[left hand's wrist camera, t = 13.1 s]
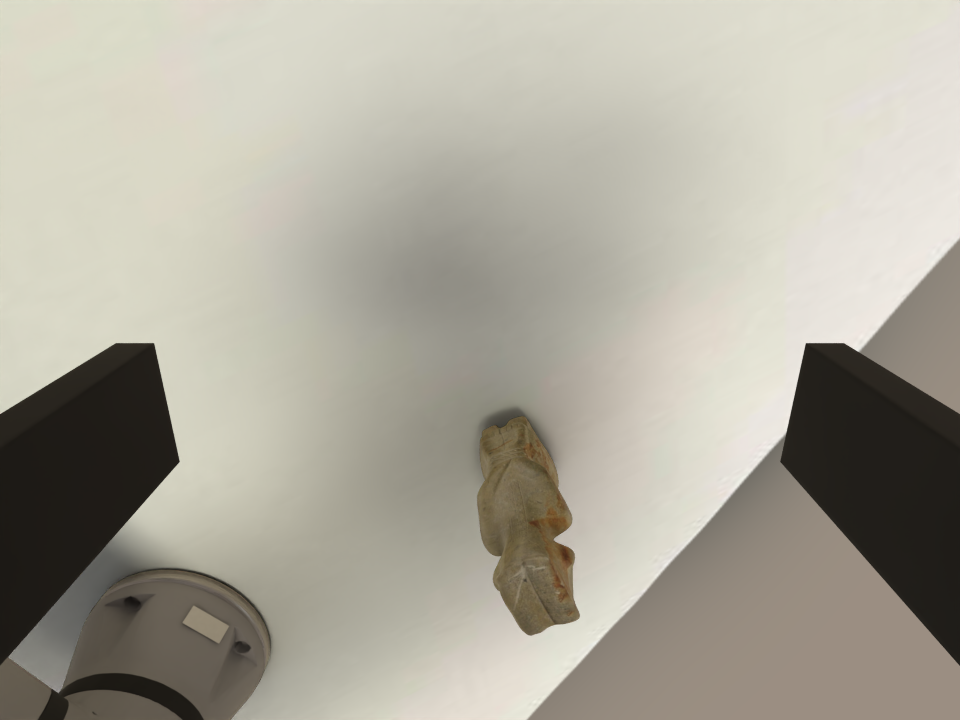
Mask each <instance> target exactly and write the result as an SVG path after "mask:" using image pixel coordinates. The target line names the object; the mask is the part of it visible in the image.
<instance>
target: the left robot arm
mask: <svg viewBox="0 0 960 720" xmlns="http://www.w3.org/2000/svg"><path fill="white" fill-rule="evenodd" d="M179 462H180V461H179V456H178V452H177V447H176V443H175V438H174V433H173V429H172V424H171V419H170V415H169V410H168V406H167V401H166V396H165V392H164V387H163V382H162V378H161V373H160V369H159V364H158V359H157V355H156V350H155V345H154V343H116V344H114V345H112V346H111V347H109V348H108V349H106V350H104V351H103V352H101V353H99V354H98V355H96V356H94V357H93V358H91V359H90V360H88V361H86V362H85V363H83V364H81V365H80V366H78V367H76V368H75V369H73V370H72V371H70V372H68V373H67V374H65V375H63V376H62V377H60V378H59V379H57V380H55V381H54V382H52V383H50V384H49V385H47V386H45V387H44V388H42V389H41V390H39V391H37V392H36V393H34V394H32V395H31V396H29V397H28V398H26V399H24V400H23V401H21V402H19V403H18V404H16V405H14V406H13V407H11V408H10V409H8V410H6V411H5V412H3V413H1V414H0V720H231V719H232V717H233V716H234V715H235V714H236V713H237V711H238V710H239V709H240V708H241V707H242V705H243V704H244V703H245V702H246V701H247V700H248V698H249V697H250V696H251V695H252V693H253V692H254V690H255V688H256V687H257V685H258V683H259V682H260V680H261V678H262V675H263V673H264V670H265V667H266V665H267V662H268V659H269V654H270V640H269V635H268V632H267V629H266V626H265V624H264V622H263V620H262V619H261V617H260V615H259V614H258V613H257V611H256V610H255V609H254V608H253V606H252V605H251V604H250V603H249V602H248V601H247V600H246V599H245V598H243V597H242V596H241V595H240V594H238V593H237V592H236V591H234V590H233V589H231V588H230V587H228V586H226V585H224V584H222V583H220V582H218V581H216V580H214V579H211V578H208V577H206V576H203V575H199V574H196V573H191V572H186V571H179V570H153V571H146V572H141V573H138V574H134V575H132V576H129V577H127V578H125V579H123V580H121V581H119V582H117V583H116V584H114V585H113V586H112V587H111V588H109V589H108V590H107V592H106V593H105V594H104V595H103V596H102V597H101V599H100V600H99V601H98V602H97V604H96V605H95V606H94V608H93V609H92V610H91V612H90V614H89V616H88V618H87V619H86V621H85V623H84V625H83V628H82V631H81V634H80V637H79V640H78V643H77V646H76V649H75V652H74V655H73V658H72V661H71V664H70V667H69V670H68V673H67V676H66V679H65V682H64V685H63V687H62V689H61V691H60V692H59V693H57V692H55V691H54V690H52V689H51V688H50V687H48V686H47V685H46V684H44V683H43V682H41V681H40V680H39V679H37V678H36V677H34V676H33V675H32V674H30V673H29V672H27V671H26V670H25V669H23V668H22V667H20V666H19V665H18V664H16V663H15V662H13V661H12V660H11V659H9V658H8V656H9V655H10V654H11V653H12V652H13V651H14V649H15V648H16V647H17V646H18V645H19V644H20V643H21V641H22V640H23V639H24V638H25V637H26V636H27V635H28V634H29V632H30V631H31V630H32V629H33V628H34V627H35V626H36V624H37V623H38V622H39V621H40V620H41V619H42V618H43V616H44V615H45V614H46V613H47V612H48V611H49V610H50V609H51V607H52V606H53V605H54V604H55V603H56V602H57V601H58V599H59V598H60V597H61V596H62V595H63V594H64V593H65V591H66V590H67V589H68V588H69V587H70V586H71V585H72V584H73V582H74V581H75V580H76V579H77V578H78V577H79V576H80V574H81V573H82V572H83V571H84V570H85V569H86V568H87V566H88V565H89V564H90V563H91V562H92V561H93V560H94V559H95V557H96V556H97V555H98V554H99V553H100V552H101V551H102V549H103V548H104V547H105V546H106V545H107V544H108V543H109V541H110V540H111V539H112V538H113V537H114V536H115V535H116V534H117V532H118V531H119V530H120V529H121V528H122V527H123V526H124V524H125V523H126V522H127V521H128V520H129V519H130V518H131V516H132V515H133V514H134V513H135V512H136V511H137V510H138V508H139V507H140V506H141V505H142V504H143V503H144V502H145V501H146V499H147V498H148V497H149V496H150V495H151V494H152V493H153V491H154V490H155V489H156V488H157V487H158V486H159V485H160V483H161V482H162V481H163V480H164V479H165V478H166V477H167V476H168V474H169V473H170V472H171V471H172V470H173V469H174V468H175V466H176V465H177V464H178V463H179ZM780 462H781V463H782V464H783V465H784V466H785V468H786V469H787V470H788V471H789V472H790V473H791V474H792V476H793V477H794V478H795V479H796V480H797V481H798V482H799V483H800V485H801V486H802V487H803V488H804V489H805V490H806V491H807V493H808V494H809V495H810V496H811V497H812V498H813V499H814V501H815V502H816V503H817V504H818V505H819V506H820V507H821V508H822V510H823V511H824V512H825V513H826V514H827V515H828V516H829V518H830V519H831V520H832V521H833V522H834V523H835V524H836V526H837V527H838V528H839V529H840V530H841V531H842V532H843V534H844V535H845V536H846V537H847V538H848V539H849V540H850V541H851V543H852V544H853V545H854V546H855V547H856V548H857V549H858V551H859V552H860V553H861V554H862V555H863V556H864V557H865V558H866V560H867V561H868V562H869V563H870V564H871V565H872V566H873V568H874V569H875V570H876V571H877V572H878V573H879V574H880V576H881V577H882V578H883V579H884V580H885V581H886V582H887V583H888V585H889V586H890V587H891V588H892V589H893V590H894V591H895V593H896V594H897V595H898V596H899V597H900V598H901V599H902V601H903V602H904V603H905V604H906V605H907V606H908V607H909V608H910V610H911V611H912V612H913V613H914V614H915V615H916V616H917V618H918V619H919V620H920V621H921V622H922V623H923V624H924V626H925V627H926V628H927V629H928V630H929V631H930V632H931V634H932V635H933V636H934V637H935V638H936V639H937V640H938V641H939V643H940V644H941V645H942V646H943V647H944V648H945V649H946V651H947V652H948V653H949V654H950V655H951V656H952V657H953V658H954V660H955V661H956V662H957V663H958V664H959V665H960V414H959V413H957V412H955V411H954V410H952V409H950V408H949V407H947V406H946V405H944V404H942V403H941V402H939V401H937V400H936V399H934V398H932V397H931V396H929V395H928V394H926V393H924V392H923V391H921V390H919V389H918V388H916V387H915V386H913V385H911V384H910V383H908V382H906V381H905V380H903V379H901V378H900V377H898V376H896V375H895V374H893V373H892V372H890V371H888V370H887V369H885V368H883V367H882V366H880V365H879V364H877V363H875V362H874V361H872V360H870V359H869V358H867V357H866V356H864V355H862V354H861V353H859V352H857V351H856V350H854V349H852V348H851V347H849V346H848V345H846V344H844V343H806V345H805V350H804V355H803V359H802V364H801V369H800V373H799V378H798V382H797V387H796V392H795V396H794V401H793V406H792V410H791V415H790V419H789V424H788V429H787V433H786V438H785V443H784V447H783V452H782V456H781V461H780Z"/></svg>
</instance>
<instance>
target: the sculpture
mask: <svg viewBox="0 0 960 720" xmlns="http://www.w3.org/2000/svg"><path fill="white" fill-rule="evenodd" d="M480 462H481V468H482V472H483V476H484V479H485V481H484V483H483V485H482V486H481V488H480V490H479V492H478V495H477V505H478V512H479V521H480V531H481V537H482V541H483V544H484V546H485V547H486V549H487V550H488V551H489V552H490V553H491V554H492V555H494V556H501V558H500V560H499V563H498V565H497V567H496V569H495V571H494V574H493V583H494V586H495V587H496V589H497V590H498V591H500V594H501V596H502V598H503V600H504V602H505V604H506V606H507V607H508V609H509V610H510V612H511V613H512V615H513V617H514V619H515V620H516V622H517V624H518V625H519V627H520V628H521V629H522V631H524V632H525V633H526V634H528V635H534V634H538V633H541V632H542V631H544V630H545V629H546V628H548V627H550V626H553V625H558V624H566V623H570V622H574V621H576V620H577V619H579V617H580V614H579V611H578V609H577V607H576V604H575V601H574V598H573V571H572V570H573V564H574V560H575V554H574V552H573V551H572V550H571V549H570V548H568V547H566V546H564V545H561V544H559V543H556V542H555V541H554V540H553V539H554V538H555V537H556V536H558V535H559V534H561V533H562V532H564V531H565V530H567V529H568V528H569V527H570V525H571V524H572V515H571V512H570V510H569V508H568V506H567V504H566V502H565V500H564V499H563V497H562V495H561V493H560V492H559V490H558V484H559V482H558V474H557V471H556V468H555V465H554V463H553V461H552V459H551V457H550V455H549V454H548V452H547V450H546V449H545V447H544V446H543V445H542V443H541V442H540V440H539V439H538V437H537V435H536V434H535V432H534V430H533V428H532V427H531V425H530V423H529V422H528V420H527V419H526V418H525V417H524V416H521V417H517V418H513V419H511V420H509V421H508V423H507V424H506V425H505V426H504V427H502V428H499V427H498V426H496V425H494V426H491V427H489V428H487V429H485V430H483V432H482V438H481V439H480Z"/></svg>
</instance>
